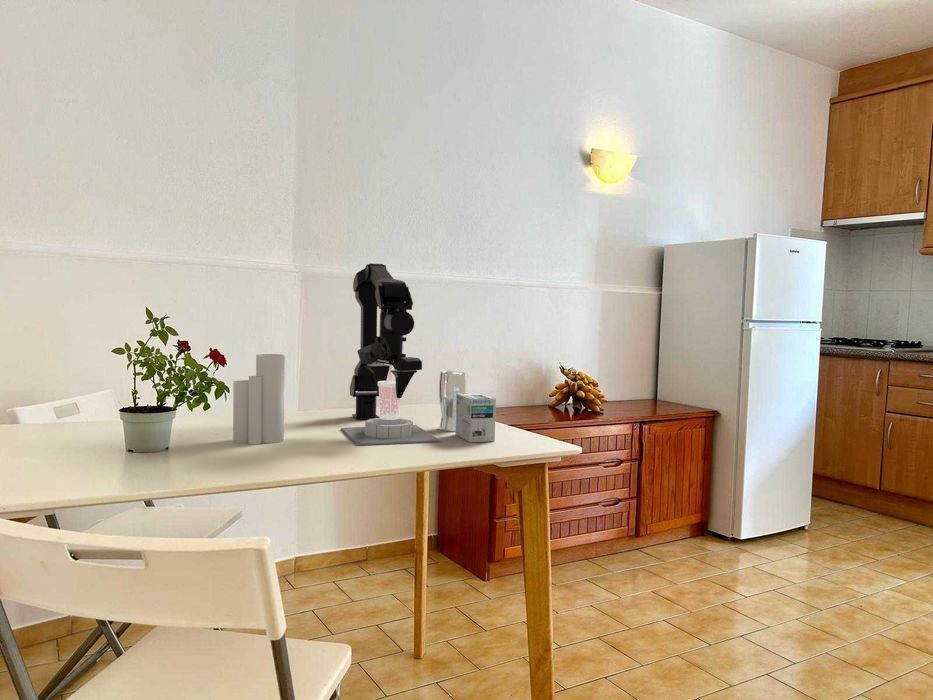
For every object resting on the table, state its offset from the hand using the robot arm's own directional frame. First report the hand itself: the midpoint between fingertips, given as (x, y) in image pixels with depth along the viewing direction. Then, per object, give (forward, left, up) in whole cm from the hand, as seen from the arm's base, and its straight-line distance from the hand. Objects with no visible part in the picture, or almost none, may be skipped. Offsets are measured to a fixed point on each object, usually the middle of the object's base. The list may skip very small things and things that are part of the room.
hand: (389, 395), depth 181 cm
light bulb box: (+7, +20, -10) cm, 24 cm away
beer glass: (-5, +18, -10) cm, 21 cm away
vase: (0, -31, -10) cm, 33 cm away
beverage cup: (0, 0, -6) cm, 6 cm away
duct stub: (0, 0, -10) cm, 10 cm away
